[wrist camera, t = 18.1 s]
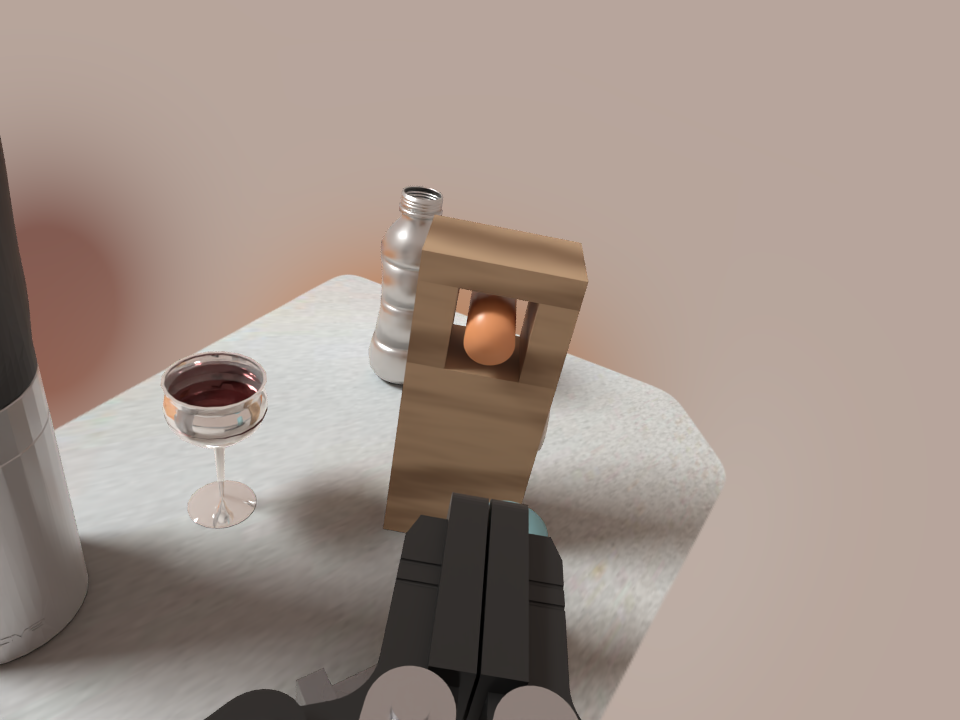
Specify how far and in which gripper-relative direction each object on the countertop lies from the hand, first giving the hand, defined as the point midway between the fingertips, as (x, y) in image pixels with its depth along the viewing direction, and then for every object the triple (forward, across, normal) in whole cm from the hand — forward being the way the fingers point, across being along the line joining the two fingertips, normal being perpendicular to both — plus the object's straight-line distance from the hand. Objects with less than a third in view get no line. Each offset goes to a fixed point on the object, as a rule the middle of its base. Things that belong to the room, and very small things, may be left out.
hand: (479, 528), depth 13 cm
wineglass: (+26, +17, +30) cm, 43 cm away
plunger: (+29, -1, +13) cm, 31 cm away
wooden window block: (+29, -1, +30) cm, 42 cm away
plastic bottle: (+47, +6, +30) cm, 56 cm away
